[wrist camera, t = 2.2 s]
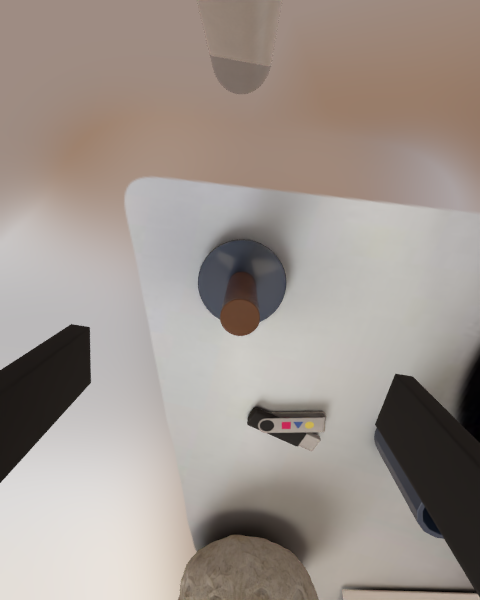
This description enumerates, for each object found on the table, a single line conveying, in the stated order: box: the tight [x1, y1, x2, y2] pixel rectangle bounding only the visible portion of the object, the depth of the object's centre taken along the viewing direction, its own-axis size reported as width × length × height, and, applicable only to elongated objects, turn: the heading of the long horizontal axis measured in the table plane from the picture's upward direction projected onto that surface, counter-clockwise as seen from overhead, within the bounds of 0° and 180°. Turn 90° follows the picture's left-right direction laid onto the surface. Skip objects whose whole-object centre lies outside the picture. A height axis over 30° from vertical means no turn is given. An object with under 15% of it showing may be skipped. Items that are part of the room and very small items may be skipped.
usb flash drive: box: [247, 407, 326, 451], centre depth 31 cm, size 9×5×1 cm, turn 63°
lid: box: [198, 240, 286, 336], centre depth 22 cm, size 8×8×9 cm
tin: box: [374, 428, 444, 539], centre depth 28 cm, size 7×7×8 cm
